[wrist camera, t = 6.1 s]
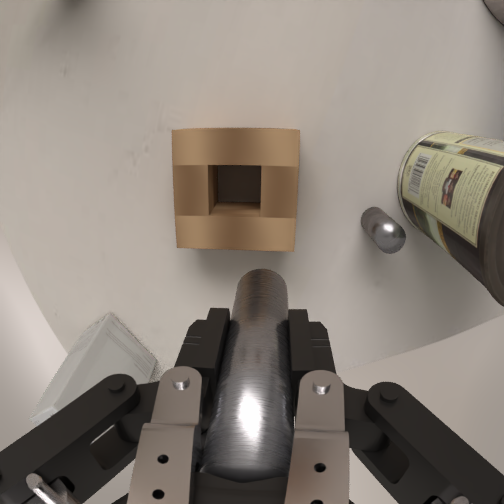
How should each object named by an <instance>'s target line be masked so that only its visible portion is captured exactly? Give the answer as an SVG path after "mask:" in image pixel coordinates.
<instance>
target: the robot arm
mask: <svg viewBox="0 0 504 504" xmlns="http://www.w3.org/2000/svg"><path fill="white" fill-rule="evenodd" d="M484 2H485V4H486V5H487V7H488V8H489V9H490V11H491V12H492V13H493V15H494V16H495V17H496V18H497V19H498V20H499V21H500V22H501V23H502V24H503V25H504V0H484ZM229 325H230V311H229V308H210V310H209V313H208V316H207V320H196V321H195V322H194V323H193V324H192V325H191V326H190V327H189V329H188V331H187V334H186V337H185V339H184V342H183V345H182V347H181V350H180V353H179V355H178V358H177V361H176V363H175V366H174V368H171V369H169V370H167V371H166V372H165V373H164V374H163V375H162V376H161V378H160V381H157V382H153V383H146V384H136V381H135V380H134V378H132V377H131V376H129V375H127V374H113V375H110V376H108V377H106V378H104V379H103V380H101V381H100V382H99V383H97V384H96V385H94V386H93V387H92V388H90V389H89V390H88V391H86V392H85V393H83V394H82V395H81V396H79V397H78V398H76V399H75V400H74V401H72V402H71V403H69V404H68V405H66V406H65V407H64V408H62V409H61V410H59V411H58V412H57V413H55V414H54V415H52V416H51V417H50V418H48V419H47V420H45V421H44V422H42V423H41V424H40V425H38V426H37V427H35V428H34V429H32V430H31V431H30V432H29V433H27V434H26V435H24V436H22V437H21V438H20V439H18V440H17V441H15V442H14V443H13V444H11V445H10V446H8V447H7V448H5V449H4V450H2V451H1V452H0V504H82V503H84V502H85V501H86V500H87V499H89V498H90V497H91V496H92V495H93V494H95V493H96V492H97V491H98V490H99V489H101V487H103V486H104V485H105V484H106V483H108V482H109V481H110V480H111V479H112V478H113V477H115V476H116V475H117V474H118V473H119V472H120V471H121V470H123V469H124V468H125V467H126V466H127V465H128V464H129V463H131V462H132V461H133V460H134V459H135V458H136V459H135V464H134V468H133V474H132V479H131V484H130V490H129V493H127V494H126V495H124V496H123V497H121V498H120V499H118V500H116V501H115V502H114V503H112V504H354V503H353V502H352V501H351V500H349V448H352V451H353V452H354V454H355V455H356V456H357V457H358V458H359V460H360V461H361V462H362V463H363V464H364V465H365V466H366V468H367V469H368V470H369V471H370V472H371V473H372V474H373V476H375V478H376V479H377V480H378V481H379V482H380V483H381V485H382V486H383V487H384V488H385V489H386V490H387V491H388V492H389V493H390V494H391V496H392V497H393V498H394V499H395V500H396V501H397V502H398V503H399V504H504V475H503V474H501V473H500V472H499V471H498V470H497V469H496V468H494V467H493V466H492V465H491V464H490V463H489V462H488V461H487V460H485V459H484V458H483V457H482V456H481V455H480V454H479V453H477V452H476V451H475V450H474V449H473V448H472V447H471V446H469V445H468V444H467V443H466V442H465V441H464V440H463V439H461V438H460V437H459V436H458V435H457V434H456V433H455V432H453V431H452V430H451V429H450V428H449V427H448V426H446V425H445V424H444V423H443V422H442V421H441V420H439V418H437V417H436V416H435V415H434V414H432V412H431V411H429V410H428V409H427V408H426V407H425V406H424V405H423V404H421V403H420V402H419V401H418V400H417V399H416V398H415V397H413V396H412V395H411V394H410V393H409V392H408V391H407V390H405V389H404V388H403V387H402V386H400V385H398V384H396V383H392V382H380V383H377V384H375V385H373V386H372V387H371V388H370V389H369V391H365V390H360V389H355V388H352V387H349V386H347V385H345V384H344V383H343V382H342V380H341V378H340V377H339V376H338V375H337V374H336V370H335V365H334V361H333V356H332V351H331V347H330V341H329V337H328V332H327V329H326V328H325V327H324V326H323V324H322V323H321V322H309V320H308V313H307V309H289V310H288V332H289V353H290V375H291V388H292V391H293V409H294V416H295V430H294V440H293V447H292V455H291V462H290V469H289V477H275V478H270V479H265V480H260V481H254V482H248V483H237V482H234V481H230V480H227V479H224V478H220V477H217V476H214V475H211V474H208V473H202V472H200V470H201V463H202V456H203V451H204V446H205V441H206V436H207V431H208V426H209V422H210V417H211V412H212V407H213V402H214V397H215V392H216V387H217V383H218V378H219V373H220V368H221V363H222V359H223V354H224V349H225V344H226V339H227V334H228V330H229ZM112 425H113V427H112V428H110V427H111V426H112ZM109 428H110V429H109ZM107 429H109V430H108V431H107V432H106V433H104V432H105V431H106V430H107ZM102 433H104V434H103V435H102V436H101V437H99V436H100V435H101V434H102ZM97 437H99V438H98V439H97V440H96V441H94V440H95V439H96V438H97ZM93 441H94V442H93ZM92 442H93V443H92ZM91 443H92V444H91Z"/></svg>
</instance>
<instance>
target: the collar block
mask: <svg viewBox="0 0 504 504" xmlns="http://www.w3.org/2000/svg"><path fill="white" fill-rule="evenodd" d="M299 147H300V130H296V129H275V128H195V129H179V130H172V161H173V188H174V209H175V226H176V241H177V248H198V249H229V250H259V251H289V252H294V245H295V229H296V212H297V193H298V172H299ZM218 165H262V167H261V203H257V202H218Z"/></svg>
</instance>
